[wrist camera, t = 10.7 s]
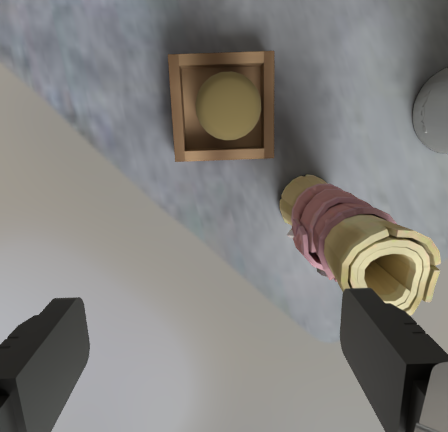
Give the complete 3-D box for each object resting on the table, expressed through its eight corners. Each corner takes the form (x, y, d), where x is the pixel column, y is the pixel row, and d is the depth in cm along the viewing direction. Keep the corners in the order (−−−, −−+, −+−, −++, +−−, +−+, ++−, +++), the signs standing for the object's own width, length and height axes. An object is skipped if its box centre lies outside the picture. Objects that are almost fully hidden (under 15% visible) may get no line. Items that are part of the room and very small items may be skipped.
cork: (222, 65, 36) (225, 43, 26) (266, 106, 37) (286, 102, 27) (184, 112, 37) (171, 109, 27) (227, 150, 38) (232, 163, 28)
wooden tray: (269, 56, 37) (274, 50, 34) (269, 154, 39) (274, 158, 36) (171, 59, 37) (167, 54, 34) (178, 158, 39) (175, 161, 36)
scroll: (263, 229, 42) (304, 325, 23) (281, 166, 40) (342, 213, 21) (325, 243, 42) (417, 348, 23) (345, 182, 41) (464, 241, 21)
